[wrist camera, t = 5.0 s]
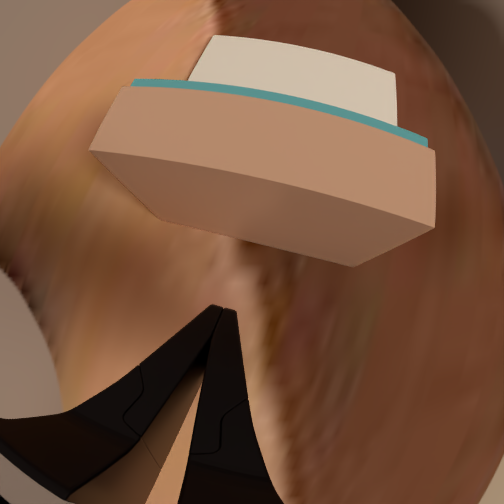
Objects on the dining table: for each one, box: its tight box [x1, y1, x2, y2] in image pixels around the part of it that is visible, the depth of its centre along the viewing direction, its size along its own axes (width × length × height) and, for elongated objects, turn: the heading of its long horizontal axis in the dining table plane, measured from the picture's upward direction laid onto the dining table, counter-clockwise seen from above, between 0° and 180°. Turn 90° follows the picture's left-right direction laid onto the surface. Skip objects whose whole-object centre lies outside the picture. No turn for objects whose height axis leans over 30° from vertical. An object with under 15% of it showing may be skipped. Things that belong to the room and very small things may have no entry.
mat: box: [188, 35, 397, 126], centre depth 19 cm, size 13×16×1 cm
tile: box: [89, 79, 436, 267], centre depth 13 cm, size 4×12×9 cm, turn 76°
